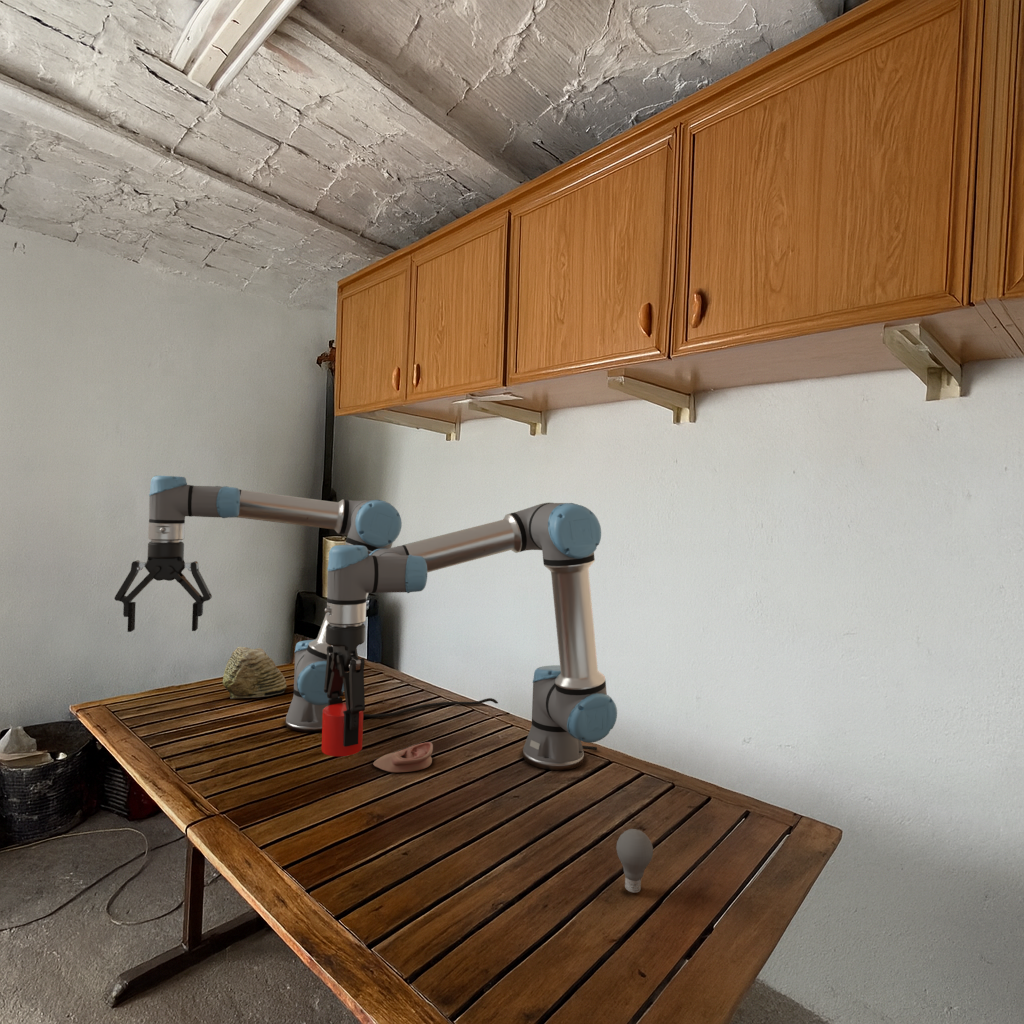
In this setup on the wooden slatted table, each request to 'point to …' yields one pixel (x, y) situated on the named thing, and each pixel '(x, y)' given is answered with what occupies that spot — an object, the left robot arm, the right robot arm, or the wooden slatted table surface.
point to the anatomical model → (407, 759)
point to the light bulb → (634, 857)
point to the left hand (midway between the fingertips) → (163, 630)
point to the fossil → (252, 674)
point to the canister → (338, 731)
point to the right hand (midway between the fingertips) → (342, 737)
